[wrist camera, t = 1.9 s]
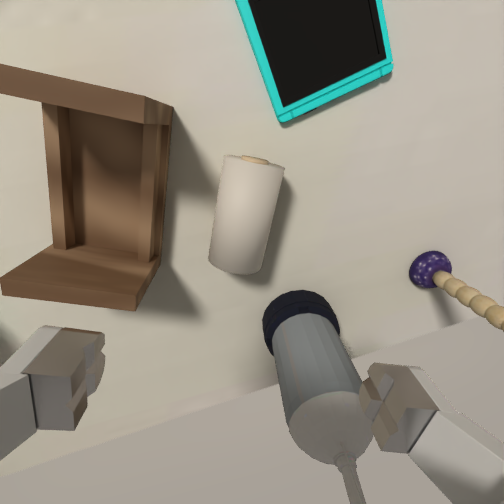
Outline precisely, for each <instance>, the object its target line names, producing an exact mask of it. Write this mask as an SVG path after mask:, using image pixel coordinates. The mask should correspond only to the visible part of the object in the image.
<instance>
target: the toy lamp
mask: <svg viewBox="0 0 504 504" xmlns="http://www.w3.org/2000/svg"><path fill="white" fill-rule="evenodd" d="M451 271H452V267H451V263H450V261H449V259H448V258H447V257H446V256H445V255H444V254H443V253H441V252H438V251H429V252H425V253H423V254H421V255H420V256H418V257H417V258H416V259H415V261H414V262H413V263H412V265H411V267H410V271H409V276H410V279H411V280H412V282H413V283H414V284H416V285H418V286H420V287H424V288H434V287H439V288H441V289H443V290H445V291H446V292H447V293H448V294H449V295H450V296H452V297H454V298H457V299H458V301H459V302H460V303H462V304H463V305H465V306H467V307H470V308H471V309H472V310H473V311H474V312H475V313H476V314H477V315H479V316H481V317H484V318H486V319H487V320H488V322H489V323H490V324H492V325H493V326H494V327H496V328H498V329H501V330H503V331H504V307H502V306H499V305H498V304H497V303H496V302H495V301H494V300H493V299H491V298H489V297H487V296H484V295H482V294H481V293H480V292H479V291H478V290H477V289H475V288H472V287H469V286H468V285H467V284H466V283H465V282H463V281H461V280H459V279H455V277H454V276H453V275H451Z"/></svg>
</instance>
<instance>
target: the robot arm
mask: <svg viewBox="0 0 504 504" xmlns="http://www.w3.org/2000/svg"><path fill="white" fill-rule="evenodd" d="M104 345H105V334H103V333H102V332H95V331H88V330H80V329H73V328H66V327H65V328H62V327H55V326H48V325H44V326H42V327H40V328H38V329H37V330H36V331H35V332H34V333H33V334H32V336H31V337H30V338H29V339H28V340H27V341H26V342H25V343H24V344H23V345H22V346H21V347H20V348H19V349H18V350H17V351H16V352H15V353H14V354H13V355H12V356H11V357H10V358H9V359H8V360H7V361H6V362H5V363H4V364H3V365H2V366H1V367H0V460H2V459H3V458H4V457H5V456H7V455H8V454H9V453H10V452H12V451H13V450H14V449H15V448H17V447H18V446H19V445H20V444H22V443H23V442H24V441H26V440H27V439H28V438H29V437H31V436H32V435H33V434H34V433H36V431H37V430H36V429H40V430H67V431H75V429H76V427H77V425H78V423H79V421H80V419H81V417H82V416H83V414H84V412H85V410H86V408H87V397H88V396H89V395H91V394H92V393H94V392H95V391H96V389H97V387H98V385H99V383H100V381H101V378H102V375H103V372H104V366H105V355H104V354H103V353H102V352H101V350H102V348H103V346H104ZM368 374H369V378H367V379H366V380H365V381H363V382H362V384H361V387H360V389H359V401H360V405H361V408H362V410H363V413H364V414H365V415H366V416H367V417H368V418H369V419H370V420H371V421H372V424H371V430H372V432H373V434H374V436H375V439H376V441H377V443H378V445H379V447H380V449H381V451H387V452H397V453H407V454H408V456H409V457H410V458H411V459H412V460H413V461H414V462H415V463H416V464H417V465H418V467H419V468H420V469H421V470H422V471H423V472H424V473H425V474H426V475H427V476H428V477H429V478H430V479H431V481H432V482H433V483H434V484H435V485H436V486H437V487H438V488H439V489H440V490H441V491H442V493H444V494H445V496H446V497H447V498H448V499H449V500H450V501H451V502H452V503H453V504H504V442H502V441H501V440H500V439H498V438H497V437H495V436H494V435H493V434H491V433H490V432H488V431H487V430H485V429H484V428H483V427H481V426H480V425H478V424H477V423H476V422H474V421H473V420H471V419H470V418H469V417H467V416H466V415H464V414H463V413H458V412H457V411H456V410H455V409H454V407H453V406H452V405H451V404H450V402H449V401H448V400H447V398H446V397H445V396H444V395H443V393H442V392H441V391H440V390H439V388H438V387H437V386H436V385H435V383H434V382H433V381H432V380H431V378H430V377H429V376H428V375H427V373H426V372H425V371H424V370H423V369H421V368H420V367H415V366H405V365H404V366H402V365H393V364H383V363H373V364H372V365H371V366H370V368H369V370H368Z"/></svg>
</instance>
